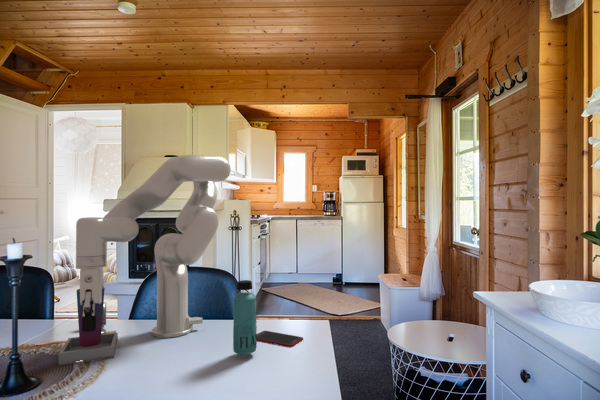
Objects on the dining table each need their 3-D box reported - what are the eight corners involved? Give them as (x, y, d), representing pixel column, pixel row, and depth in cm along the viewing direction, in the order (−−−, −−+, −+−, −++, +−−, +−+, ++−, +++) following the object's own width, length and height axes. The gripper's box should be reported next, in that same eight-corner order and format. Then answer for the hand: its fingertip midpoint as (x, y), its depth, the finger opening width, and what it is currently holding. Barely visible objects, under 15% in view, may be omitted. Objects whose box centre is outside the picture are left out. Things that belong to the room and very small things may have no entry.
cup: (91, 349, 100) (92, 292, 101) (69, 347, 102) (70, 291, 102) (109, 340, 107) (110, 287, 108) (88, 338, 108) (89, 286, 109)
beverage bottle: (237, 362, 97) (237, 283, 98) (229, 353, 103) (229, 279, 104) (260, 357, 100) (260, 281, 101) (252, 349, 106) (251, 277, 107)
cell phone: (264, 333, 122) (264, 330, 122) (304, 340, 114) (304, 337, 114) (249, 340, 115) (249, 337, 115) (291, 348, 108) (291, 345, 108)
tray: (117, 342, 113) (117, 332, 113) (113, 357, 101) (113, 346, 101) (68, 348, 108) (68, 338, 108) (58, 365, 96) (58, 353, 96)
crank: (104, 337, 115) (105, 313, 115) (86, 339, 113) (86, 315, 113) (110, 322, 130) (110, 301, 130) (93, 324, 128) (93, 303, 128)
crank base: (115, 332, 122) (115, 330, 122) (113, 340, 115) (113, 338, 115) (38, 341, 114) (38, 339, 114) (30, 350, 107) (30, 348, 107)
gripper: (103, 265, 98) (102, 335, 98) (109, 257, 115) (109, 317, 114) (69, 267, 96) (68, 339, 95) (81, 259, 112) (80, 320, 111)
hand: (90, 326), depth 105 cm, fingers closed on cup, 6 cm apart
